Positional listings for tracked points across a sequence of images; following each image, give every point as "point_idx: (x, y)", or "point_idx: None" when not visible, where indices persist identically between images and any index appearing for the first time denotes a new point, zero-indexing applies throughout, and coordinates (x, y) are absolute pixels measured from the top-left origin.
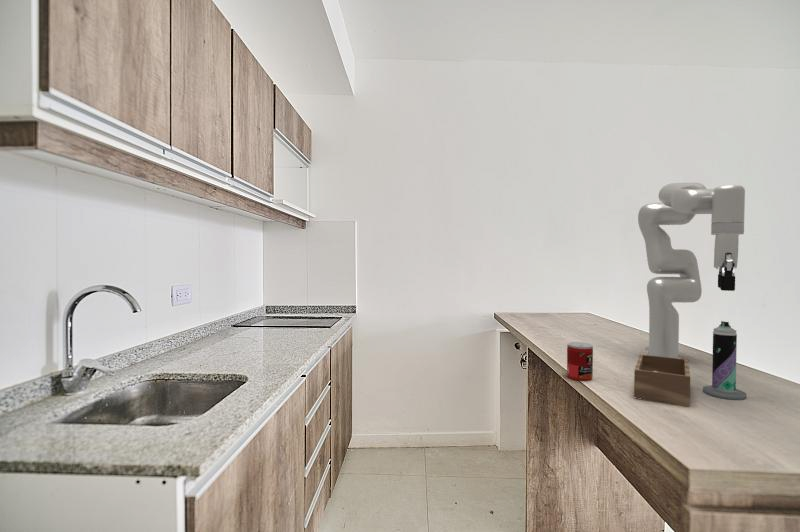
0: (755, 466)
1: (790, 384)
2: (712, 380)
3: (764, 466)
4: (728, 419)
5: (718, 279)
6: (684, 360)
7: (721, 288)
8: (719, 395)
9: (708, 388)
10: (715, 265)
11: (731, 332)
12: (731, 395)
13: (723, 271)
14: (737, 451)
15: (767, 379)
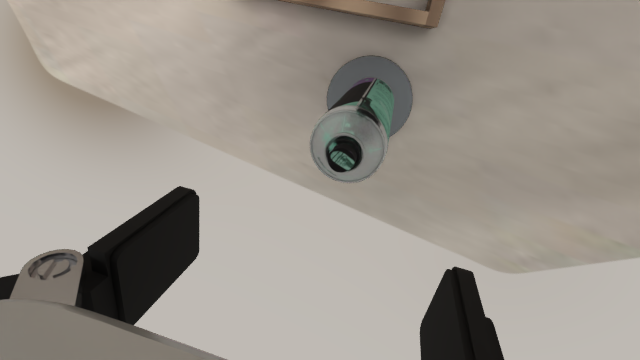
0: (32, 32)
1: (496, 266)
2: (370, 79)
3: (39, 44)
4: (198, 54)
5: (469, 326)
6: (415, 10)
7: (173, 193)
8: (332, 80)
9: (376, 69)
10: (5, 334)
11: (312, 156)
12: (333, 104)
13: (19, 292)
14: (65, 23)
15: (537, 243)
